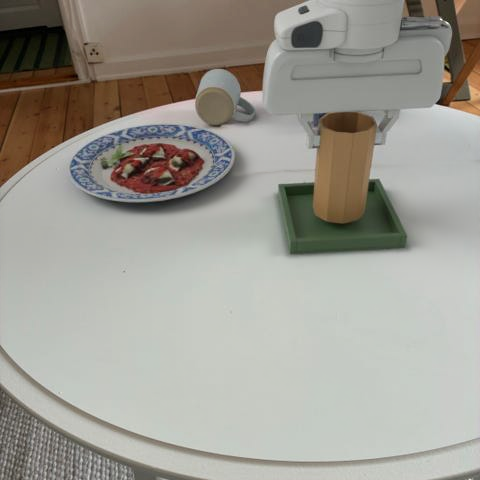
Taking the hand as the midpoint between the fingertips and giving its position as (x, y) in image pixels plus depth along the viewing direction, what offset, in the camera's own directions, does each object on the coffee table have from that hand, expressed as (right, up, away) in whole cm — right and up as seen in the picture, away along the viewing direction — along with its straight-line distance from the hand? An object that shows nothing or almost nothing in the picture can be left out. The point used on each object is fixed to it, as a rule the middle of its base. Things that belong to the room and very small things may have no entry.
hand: (344, 144), depth 66 cm
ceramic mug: (-15, +16, +34) cm, 40 cm away
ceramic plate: (-26, +2, +19) cm, 33 cm away
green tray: (0, -8, +7) cm, 11 cm away
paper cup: (0, -7, +6) cm, 9 cm away
